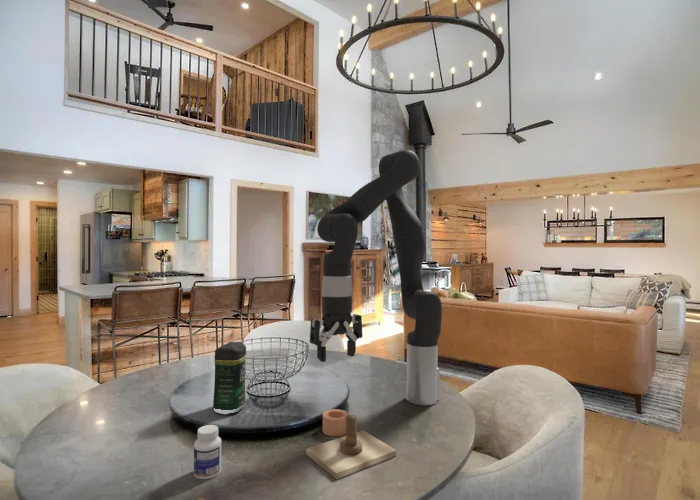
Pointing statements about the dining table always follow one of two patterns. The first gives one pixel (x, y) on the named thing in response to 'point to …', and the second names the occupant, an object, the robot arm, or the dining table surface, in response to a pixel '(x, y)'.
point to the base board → (348, 464)
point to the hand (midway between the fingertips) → (336, 358)
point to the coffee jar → (229, 376)
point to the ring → (334, 422)
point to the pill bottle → (207, 452)
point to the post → (351, 438)
